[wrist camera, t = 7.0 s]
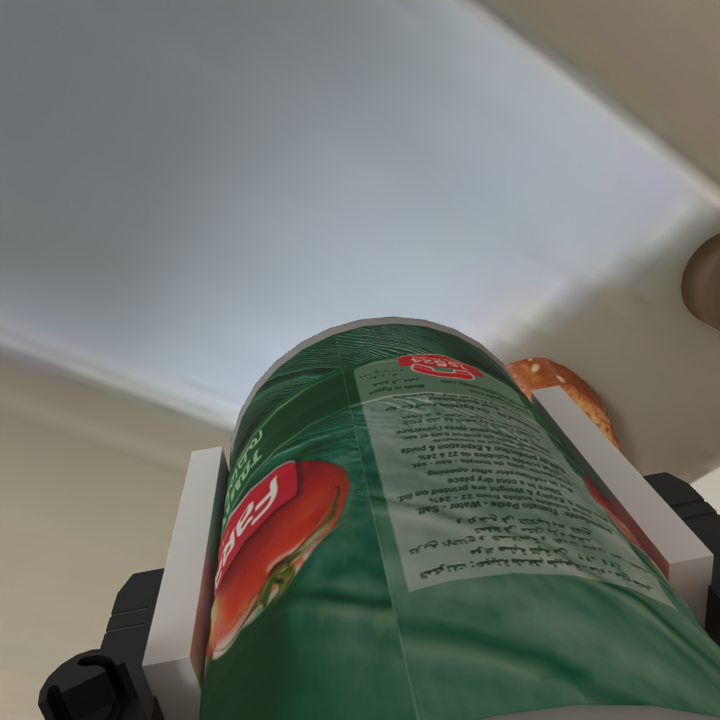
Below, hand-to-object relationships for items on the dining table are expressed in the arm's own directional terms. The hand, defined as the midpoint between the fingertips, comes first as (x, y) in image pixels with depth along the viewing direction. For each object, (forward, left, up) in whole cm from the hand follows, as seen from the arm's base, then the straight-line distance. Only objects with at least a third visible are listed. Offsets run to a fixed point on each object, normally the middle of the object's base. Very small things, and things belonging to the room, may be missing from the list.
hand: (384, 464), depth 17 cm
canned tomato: (0, 0, -1) cm, 1 cm away
